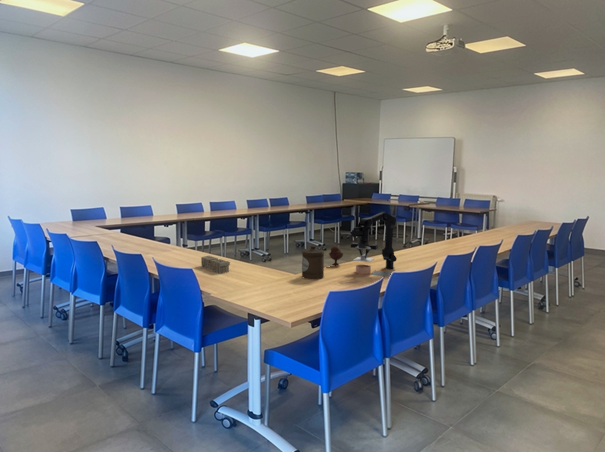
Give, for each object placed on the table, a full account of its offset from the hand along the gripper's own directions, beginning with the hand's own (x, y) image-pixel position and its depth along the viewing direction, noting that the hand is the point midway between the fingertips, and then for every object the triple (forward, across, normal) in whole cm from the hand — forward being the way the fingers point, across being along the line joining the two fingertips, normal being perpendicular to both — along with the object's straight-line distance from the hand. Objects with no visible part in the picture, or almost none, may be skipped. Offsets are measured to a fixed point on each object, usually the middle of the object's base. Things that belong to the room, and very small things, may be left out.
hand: (363, 258), depth 307 cm
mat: (+11, +13, +3) cm, 17 cm away
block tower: (+12, -100, -39) cm, 108 cm away
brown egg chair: (+11, -26, +15) cm, 32 cm away
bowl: (+11, 0, 0) cm, 11 cm away
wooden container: (+11, -28, -27) cm, 41 cm away
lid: (+1, 0, 0) cm, 1 cm away
